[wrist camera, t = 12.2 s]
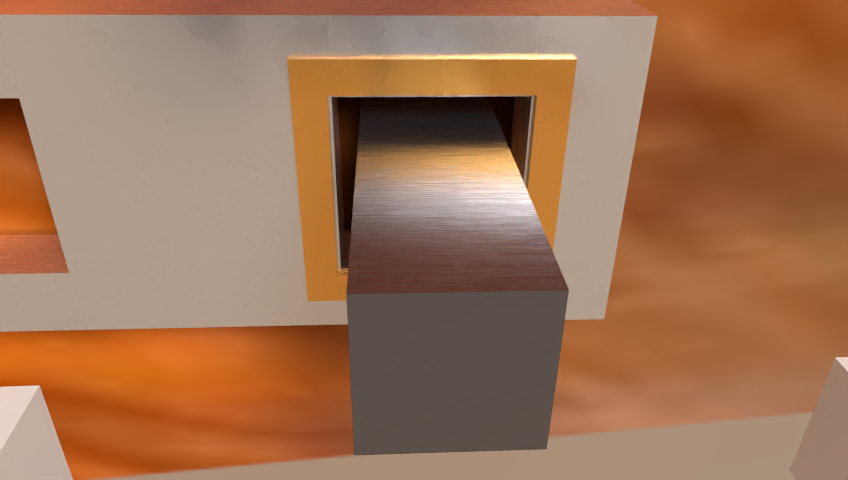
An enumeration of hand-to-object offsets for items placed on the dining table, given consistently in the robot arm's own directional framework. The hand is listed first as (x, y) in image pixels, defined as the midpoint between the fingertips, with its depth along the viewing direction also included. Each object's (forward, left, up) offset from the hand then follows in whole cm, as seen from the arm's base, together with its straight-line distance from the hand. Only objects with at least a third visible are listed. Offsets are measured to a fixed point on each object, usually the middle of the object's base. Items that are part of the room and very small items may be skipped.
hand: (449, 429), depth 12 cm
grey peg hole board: (0, -7, -13) cm, 14 cm away
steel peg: (0, 0, -13) cm, 13 cm away
